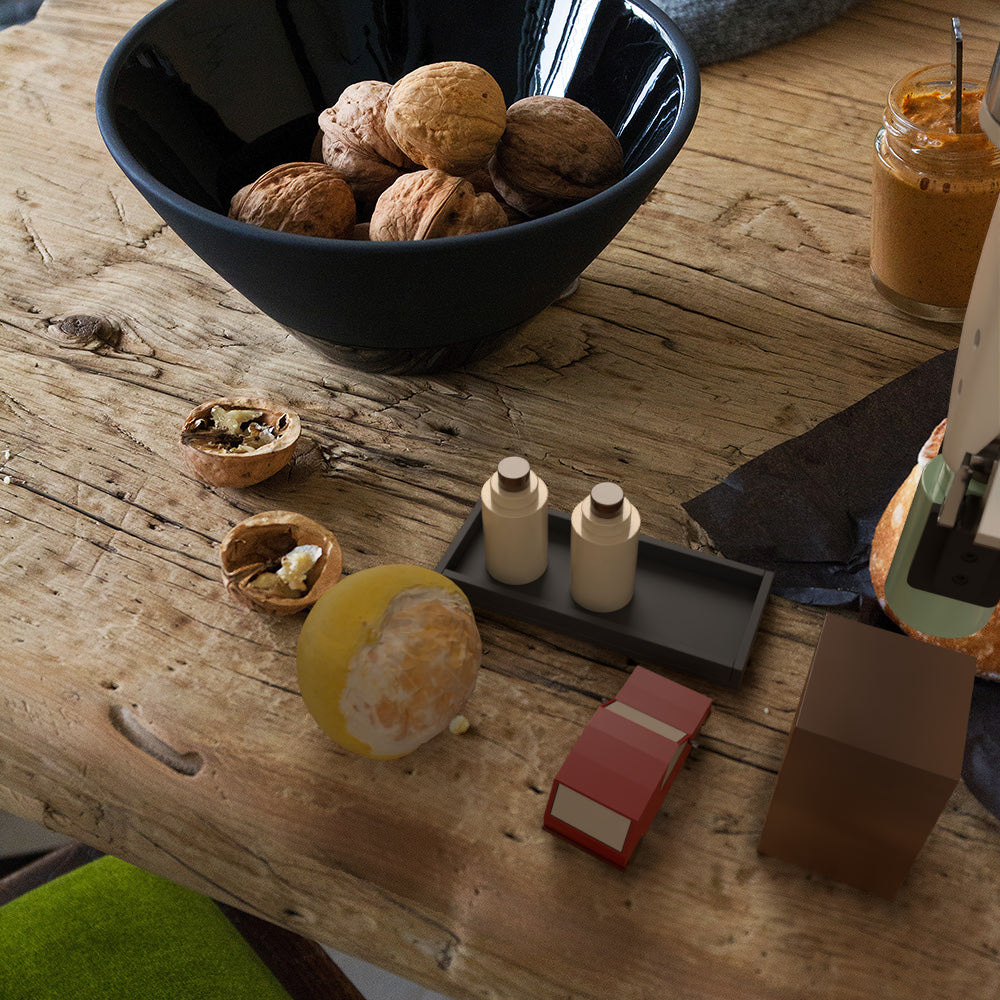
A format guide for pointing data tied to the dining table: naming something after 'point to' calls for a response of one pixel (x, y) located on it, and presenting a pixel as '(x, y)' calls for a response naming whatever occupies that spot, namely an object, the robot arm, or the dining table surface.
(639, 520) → the bottle mid
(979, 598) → the robot arm
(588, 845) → the toy truck
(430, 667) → the fruit
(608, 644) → the tray
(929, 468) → the bottle celadon
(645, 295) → the dining table surface
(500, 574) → the bottle far
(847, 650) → the stand
